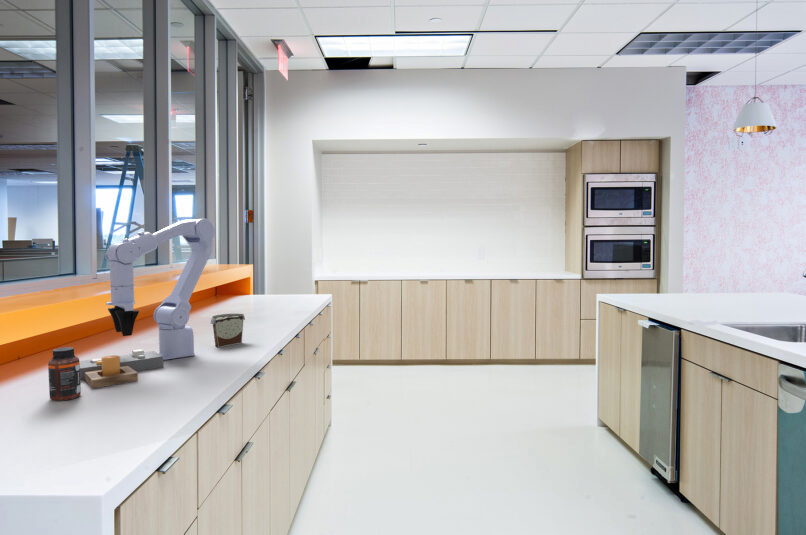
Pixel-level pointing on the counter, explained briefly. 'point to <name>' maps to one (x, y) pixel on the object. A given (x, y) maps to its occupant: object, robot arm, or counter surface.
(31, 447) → the counter surface
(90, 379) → the frame
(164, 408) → the counter surface
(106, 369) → the cap
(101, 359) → the white cube
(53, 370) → the supplement bottle
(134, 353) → the block
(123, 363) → the breaker panel
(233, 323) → the food container
